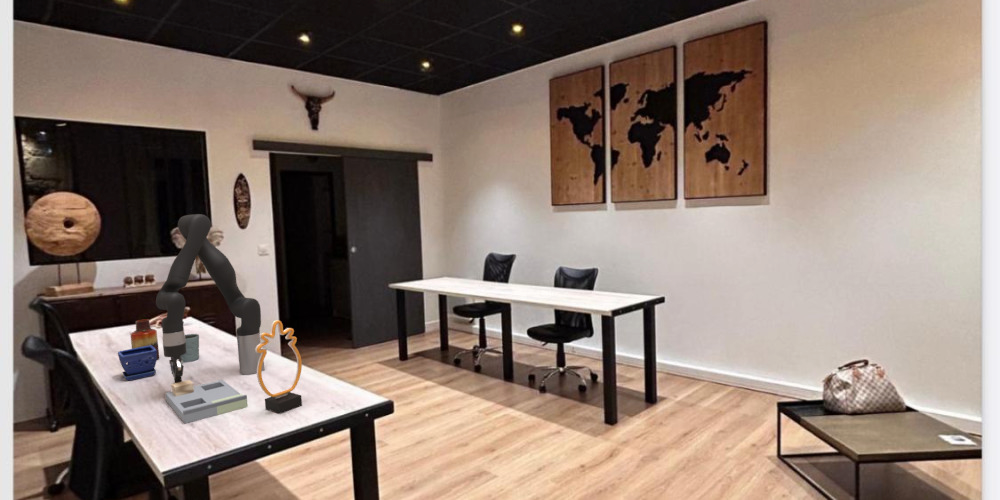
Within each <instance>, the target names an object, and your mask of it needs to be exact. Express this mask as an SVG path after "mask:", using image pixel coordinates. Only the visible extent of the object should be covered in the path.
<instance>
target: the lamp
mask: <svg viewBox="0 0 1000 500" xmlns="http://www.w3.org/2000/svg"><path fill="white" fill-rule="evenodd" d="M276 328H277V331H278V333H279V335H280V336H284V335H286V336H285V340H290V341H288V343H287V345H288V346H289V347H290V348H291V349H292V351H293V353H294V355H295V357H296V363H297V366H296V373H295V377H294V379H293V381H292V384H291V385H290V387H289V388H287V389H284V390H280V391H277V392H274V393H271V392H270V391H269V389H268V388H267V387H266V385H265V383H264V380H263V375H262V371H263V370H262V364H263V361H264V360H265V358H266V356H267V353H268V349H267V348H263V347H265V346H266V345H268V344H269V343H270V340H269V339H274V338H275V336H276ZM294 332H295V330H294V328H292V327H286V328H285V329H284V325H283V323H282V321H281V320H279V319H277V320H276V319H275V320H274V321H273V322H272V323H271V325H270V333H268V332H262V333H261V332H260V340H262V342H261V343H260V344H259V345H257V347H256V348H255V351H256V352H257V353H261V355H260V357H259V361H258V365H257V373H256V378H257V382H258V385H259V387H260V389H261V390H262V391H263V393H264V394H265V395H266V396H269V397H267V398H265V399H264V405H265V410H267V411H270V412H273V413H276V414H278V415H279V414H280V415H281V414H284V413H285V412H288V411H290V410H293V409H296V408H299V407H302V406H303V401H302V395H301V394H298V393H294V392H292V391H294V390H295V388H296V387H297V385H298V383H299V380H300V377H301V375H302V374H301V373H302V368H303V365H302V364H303V362H302V356H301V354H300V352H299V349H298V348H297V346H296V343H297V339H298V338H297V337H296V336H293V335H294ZM268 338H269V339H268ZM264 362H265V361H264Z"/></svg>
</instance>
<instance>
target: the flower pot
mask: <svg viewBox="0 0 1000 500" xmlns="http://www.w3.org/2000/svg"><path fill="white" fill-rule="evenodd" d="M117 355H118V359H119V363H120V365H121V367H122V370H124V371H122V375H123V377H124V379H125V380H126V381H134V380H138V379H143V378H148V377H152V376H154V375H155V374H156V372H157V370H156V369H155V368H156V364H157V360H156V359H157V351H156V349H155V348H154V347H153V346H152V345H150V346H144V347H139V348H133V349H132V348H129V349H125V350H124V349H123V350H120V351H117ZM146 360H147V361H146ZM138 361H139V362H138Z"/></svg>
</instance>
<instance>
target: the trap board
mask: <svg viewBox="0 0 1000 500" xmlns="http://www.w3.org/2000/svg"><path fill="white" fill-rule="evenodd" d="M193 388H194V392H193V393H188V394H184V395H180V396H175V395H174V394H173V393H172V391H167V392H165V401H166V402H167V404H168V406H170V407H171V409H172V411H174V412H175V413H176V415H177V416H178V418H180V419H181V421H182V422H183V424H190V423H193V422H196V421H201V420H204V419H207V418H211V417H214V416H218V415H221V414H222V415H223V414H226V413H230V412H232V411H237V410H240V409H243V408H248V405H249V404H248V396H247V394H241V393H240V392H239V391H238V390H236V389H235V388H234V387H232V386H231V385H230V384H229V383H228V382H226V381H225V380H223V379H220V380H216V381H211V382H207V383H206V382H205V383H202V384H199V385H193Z"/></svg>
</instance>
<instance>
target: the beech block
mask: <svg viewBox="0 0 1000 500" xmlns="http://www.w3.org/2000/svg"><path fill="white" fill-rule="evenodd" d="M193 386H194V382H192V381H191V380H190V379H188V380H183V381H182V382H178V383H174V382H173V383H171V392H172V393H173V394H174V395H175V396H180V395H184V394H188V393H193V392H194V388H193Z"/></svg>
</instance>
